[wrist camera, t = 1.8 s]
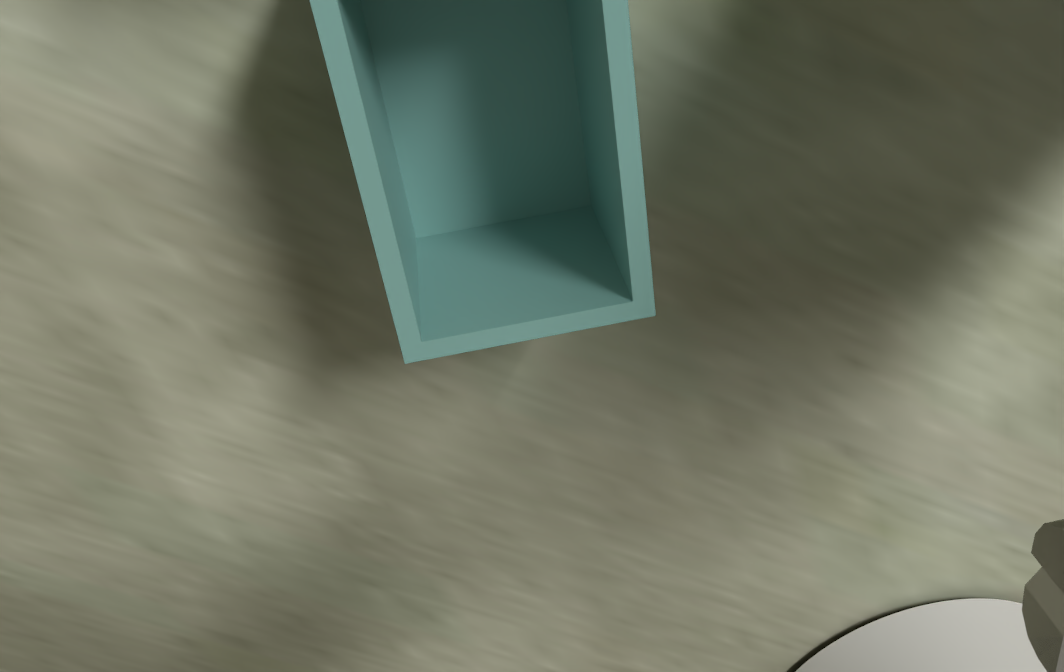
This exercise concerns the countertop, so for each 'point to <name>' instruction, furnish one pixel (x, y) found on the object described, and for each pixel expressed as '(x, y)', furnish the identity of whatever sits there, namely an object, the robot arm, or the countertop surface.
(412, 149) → the small crate
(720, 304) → the countertop surface
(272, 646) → the countertop surface
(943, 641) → the robot arm
